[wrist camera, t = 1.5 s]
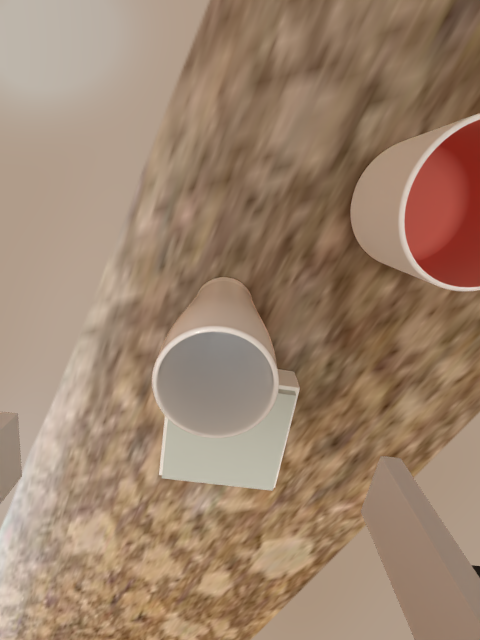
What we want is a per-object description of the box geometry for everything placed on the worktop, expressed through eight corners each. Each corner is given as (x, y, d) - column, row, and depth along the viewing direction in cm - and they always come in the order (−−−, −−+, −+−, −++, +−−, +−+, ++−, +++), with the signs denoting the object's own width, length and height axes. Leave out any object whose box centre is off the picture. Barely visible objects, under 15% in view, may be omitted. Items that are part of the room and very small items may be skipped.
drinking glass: (218, 349, 33) (206, 461, 19) (173, 297, 31) (121, 376, 17) (274, 309, 32) (306, 396, 17) (230, 252, 30) (226, 297, 16)
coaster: (294, 371, 34) (301, 392, 30) (271, 464, 38) (275, 494, 34) (175, 355, 33) (167, 374, 29) (165, 452, 37) (157, 480, 33)
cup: (447, 265, 30) (543, 293, 21) (338, 262, 30) (385, 290, 21) (476, 142, 27) (604, 110, 18) (354, 138, 27) (418, 104, 17)
